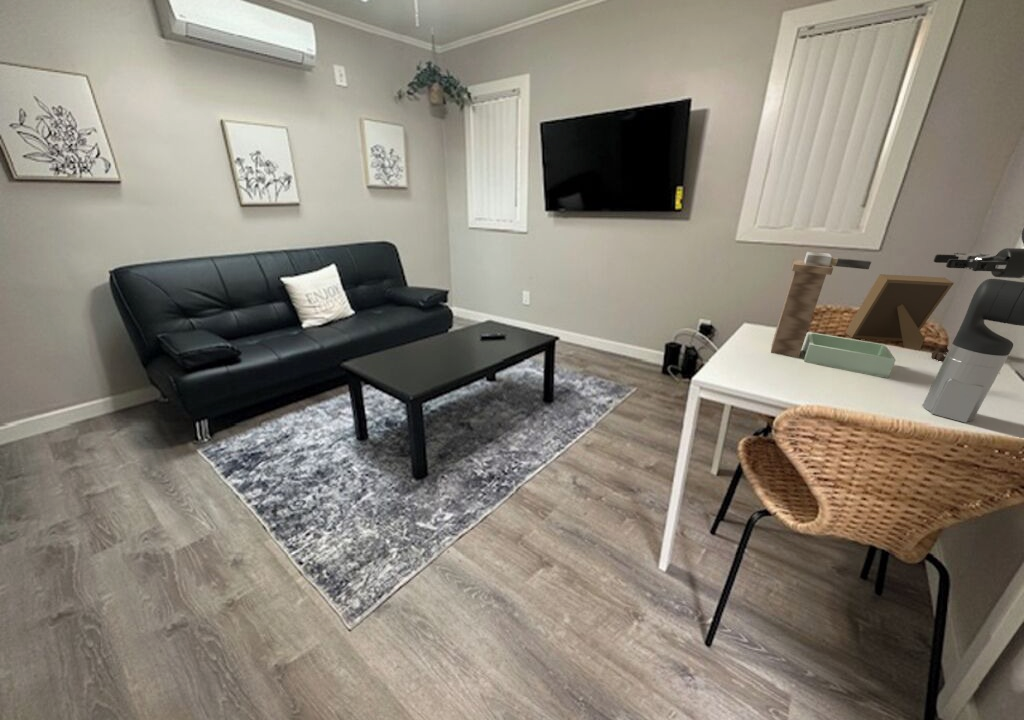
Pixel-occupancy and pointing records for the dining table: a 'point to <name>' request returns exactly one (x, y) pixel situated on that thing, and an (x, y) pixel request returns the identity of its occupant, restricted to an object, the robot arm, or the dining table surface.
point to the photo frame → (898, 308)
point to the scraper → (834, 261)
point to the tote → (848, 354)
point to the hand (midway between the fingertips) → (940, 260)
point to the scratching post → (798, 307)
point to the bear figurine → (939, 355)
